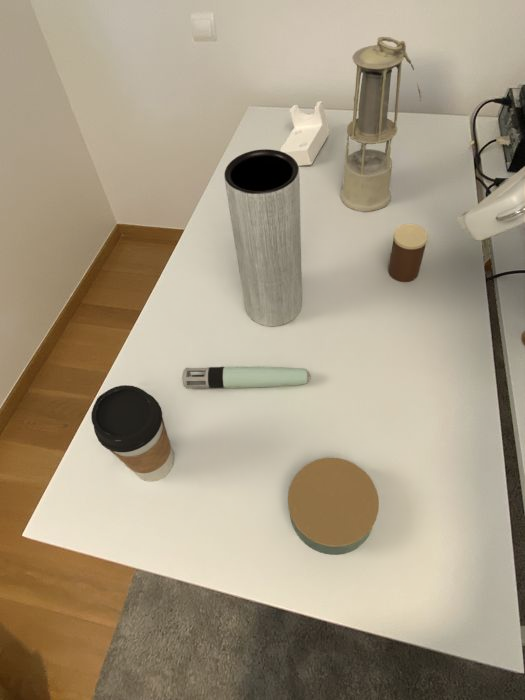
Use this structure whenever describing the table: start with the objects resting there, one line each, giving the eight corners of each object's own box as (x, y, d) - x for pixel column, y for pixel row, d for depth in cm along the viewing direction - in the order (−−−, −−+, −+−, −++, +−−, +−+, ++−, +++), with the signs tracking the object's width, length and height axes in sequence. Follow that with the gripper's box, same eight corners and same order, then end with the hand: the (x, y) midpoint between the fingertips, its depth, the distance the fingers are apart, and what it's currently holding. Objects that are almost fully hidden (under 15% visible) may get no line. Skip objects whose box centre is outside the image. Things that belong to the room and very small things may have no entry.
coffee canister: (421, 263, 91) (430, 226, 84) (416, 285, 88) (425, 248, 81) (390, 258, 92) (397, 221, 86) (384, 279, 89) (390, 243, 83)
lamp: (338, 182, 107) (346, 27, 83) (400, 178, 106) (426, 20, 82) (342, 213, 101) (352, 55, 77) (407, 209, 100) (438, 49, 76)
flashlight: (310, 358, 78) (184, 360, 80) (310, 371, 74) (178, 373, 76) (310, 377, 80) (187, 378, 81) (310, 390, 76) (181, 392, 77)
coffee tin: (382, 484, 67) (387, 471, 64) (364, 568, 61) (367, 559, 58) (303, 461, 70) (302, 447, 67) (277, 538, 64) (276, 528, 61)
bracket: (302, 136, 120) (293, 105, 115) (329, 133, 117) (322, 101, 111) (282, 167, 113) (272, 135, 108) (311, 164, 110) (302, 132, 105)
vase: (289, 277, 91) (282, 141, 70) (311, 316, 86) (311, 180, 64) (237, 294, 90) (214, 160, 68) (256, 334, 84) (237, 201, 62)
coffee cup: (149, 426, 75) (118, 371, 63) (194, 451, 72) (171, 398, 60) (113, 472, 71) (72, 423, 59) (159, 501, 68) (126, 455, 56)
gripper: (541, 235, 53) (447, 264, 65) (637, 148, 59) (535, 189, 72) (513, 183, 51) (423, 222, 64) (614, 101, 58) (514, 151, 71)
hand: (483, 204), depth 68 cm, fingers open, 8 cm apart
